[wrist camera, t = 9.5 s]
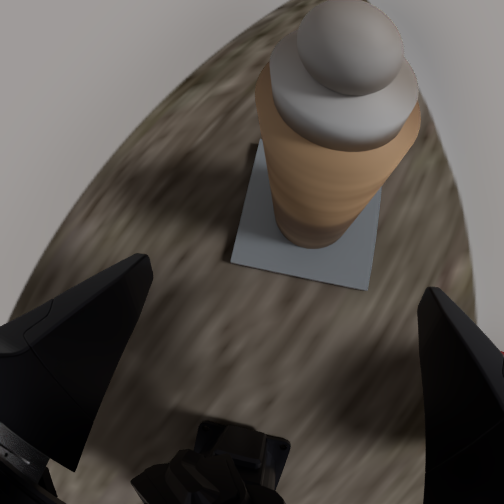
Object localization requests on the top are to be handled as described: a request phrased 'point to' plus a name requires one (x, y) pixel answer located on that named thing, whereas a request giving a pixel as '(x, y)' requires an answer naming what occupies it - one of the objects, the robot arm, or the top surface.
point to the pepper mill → (334, 118)
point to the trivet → (295, 257)
